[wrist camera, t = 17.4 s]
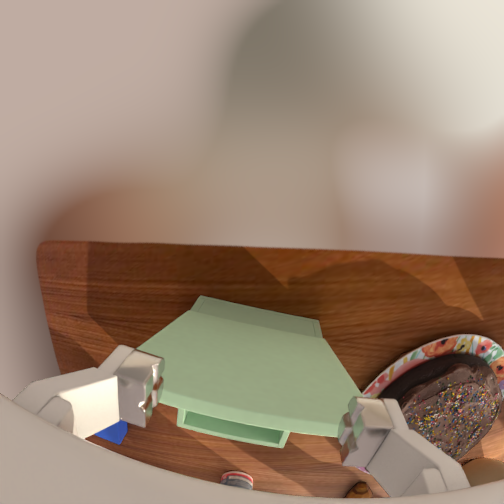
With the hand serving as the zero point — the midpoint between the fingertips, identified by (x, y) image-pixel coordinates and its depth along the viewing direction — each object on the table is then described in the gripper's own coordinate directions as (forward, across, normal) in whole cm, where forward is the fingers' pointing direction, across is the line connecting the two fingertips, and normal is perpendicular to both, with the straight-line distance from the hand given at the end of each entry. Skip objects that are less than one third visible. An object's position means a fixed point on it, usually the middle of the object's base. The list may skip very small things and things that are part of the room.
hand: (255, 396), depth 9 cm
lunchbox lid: (+11, 0, +6) cm, 13 cm away
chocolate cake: (+25, -28, +20) cm, 43 cm away
